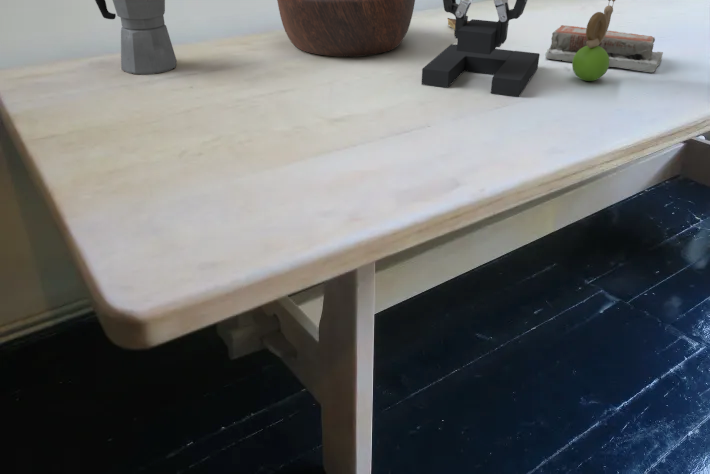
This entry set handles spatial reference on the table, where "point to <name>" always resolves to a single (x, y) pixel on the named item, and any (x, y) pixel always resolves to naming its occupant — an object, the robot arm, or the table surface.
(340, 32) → the wooden bowl
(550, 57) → the weathered brick
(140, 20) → the coffeepot
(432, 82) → the base pad
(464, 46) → the pad piece
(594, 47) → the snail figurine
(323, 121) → the table surface
